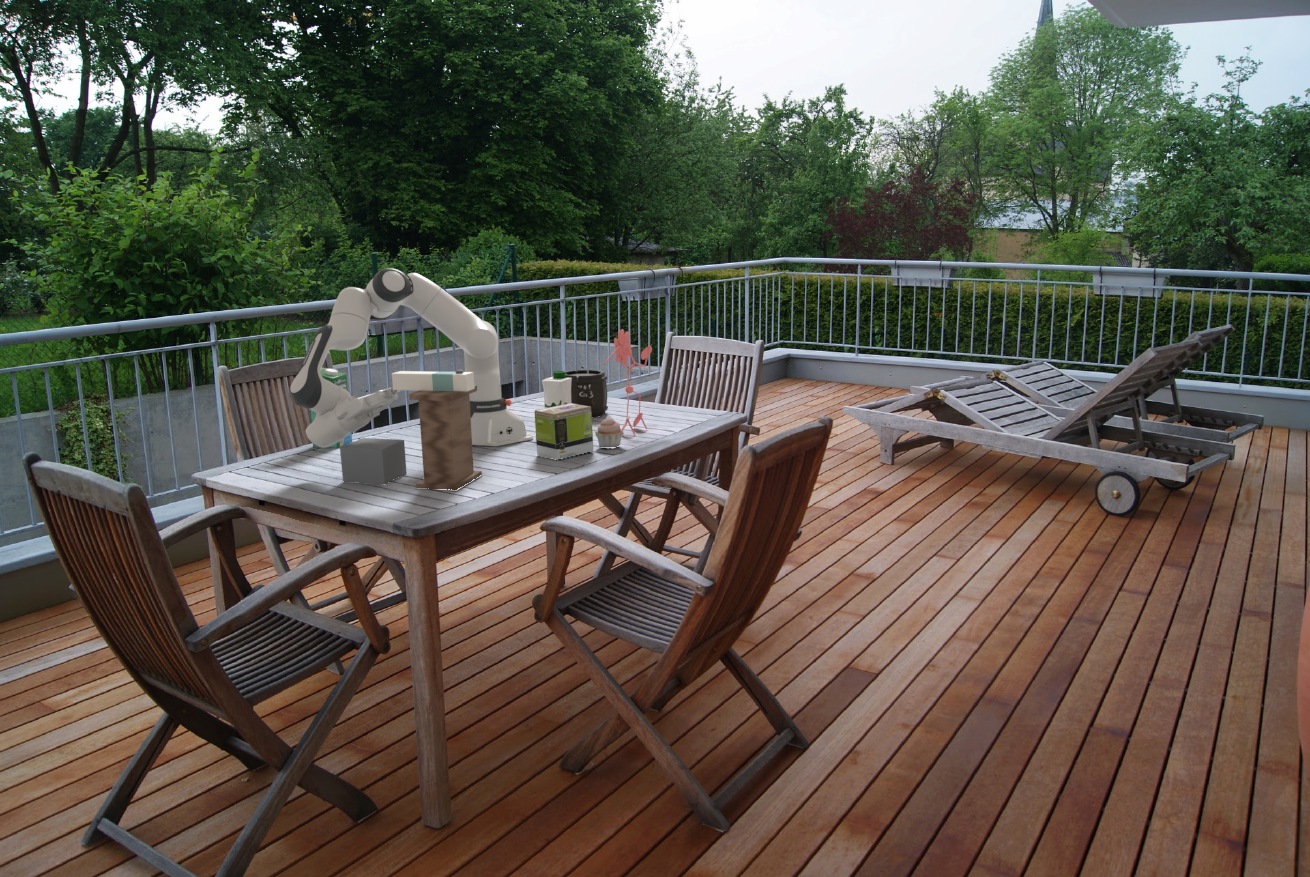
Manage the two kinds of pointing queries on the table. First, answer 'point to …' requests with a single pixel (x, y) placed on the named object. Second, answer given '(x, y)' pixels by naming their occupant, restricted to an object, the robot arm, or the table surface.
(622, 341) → the pink stick figure
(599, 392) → the dark brown pot
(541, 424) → the tea box
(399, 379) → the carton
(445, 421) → the stand
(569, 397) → the soya milk
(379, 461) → the podium
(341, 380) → the milk carton
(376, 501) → the table surface
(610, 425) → the cupcake
